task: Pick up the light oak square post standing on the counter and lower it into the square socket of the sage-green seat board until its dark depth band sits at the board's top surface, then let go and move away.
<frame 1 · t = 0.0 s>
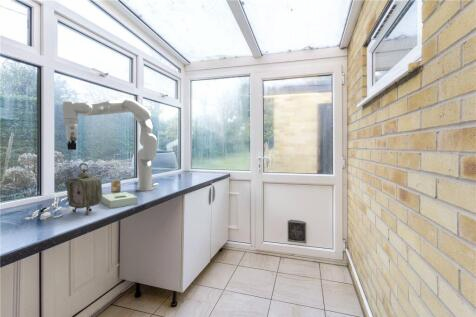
hand: (71, 149, 142), 31 cm above the worktop, tool pointing down, fingers open, 9 cm apart
miniature set: (61, 211, 118), on the worktop
seat board: (119, 202, 134), on the worktop
tabletop clock: (86, 212, 115), on the worktop
oak post: (116, 197, 149), on the worktop
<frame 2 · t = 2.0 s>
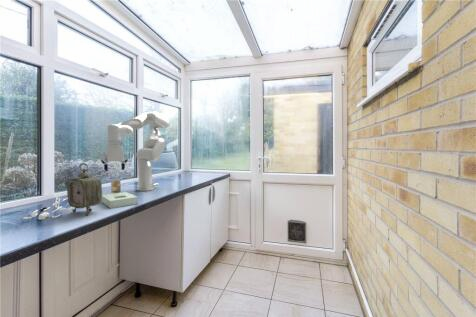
hand: (114, 170, 147), 18 cm above the worktop, tool pointing down, fingers open, 9 cm apart
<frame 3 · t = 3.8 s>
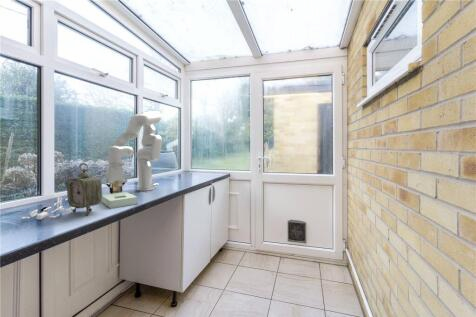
hand: (116, 192, 149), 3 cm above the worktop, tool pointing down, fingers closed on oak post, 4 cm apart
oak post: (116, 197, 149), on the worktop, touching gripper
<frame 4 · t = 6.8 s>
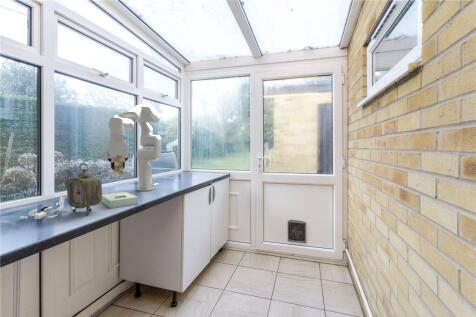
hand: (118, 168, 135), 20 cm above the worktop, tool pointing down, fingers closed on oak post, 4 cm apart
oak post: (118, 173, 135), point 17 cm above the worktop, touching gripper
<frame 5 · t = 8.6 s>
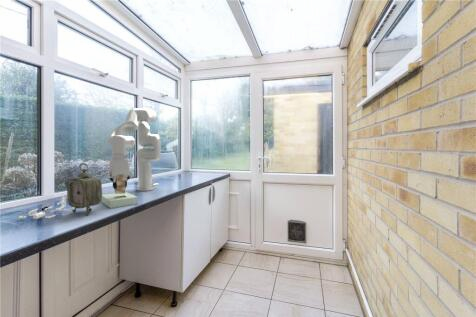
hand: (120, 188, 132), 9 cm above the worktop, tool pointing down, fingers closed on oak post, 4 cm apart
oak post: (120, 193, 132), point 6 cm above the worktop, touching gripper
when the fingers open (5 cm above the worktop, at t = 9.8 s): oak post drops 2 cm, resting in seat board.
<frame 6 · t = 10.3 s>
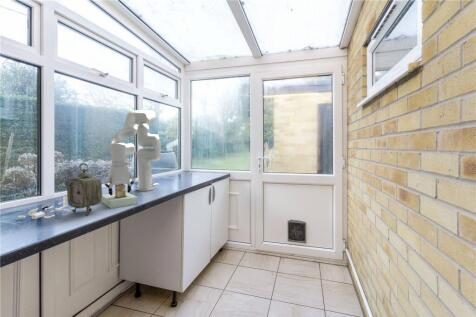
hand: (120, 193, 132), 6 cm above the worktop, tool pointing down, fingers open, 9 cm apart
oak post: (120, 203, 132), resting in seat board
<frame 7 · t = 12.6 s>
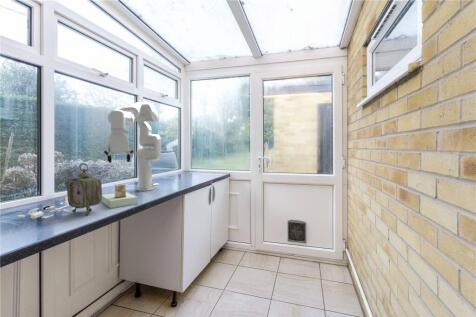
hand: (119, 162, 131), 24 cm above the worktop, tool pointing down, fingers open, 9 cm apart
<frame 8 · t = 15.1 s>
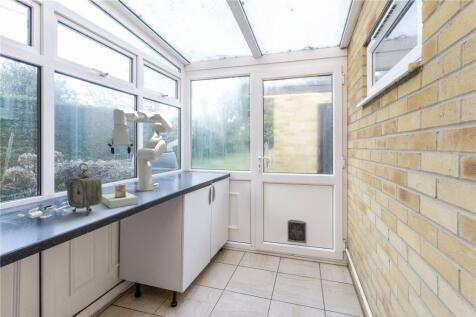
hand: (121, 153, 151), 28 cm above the worktop, tool pointing down, fingers open, 9 cm apart
at the end: oak post 0.1 cm from the target spot on the seat board, point 0.0 cm above the seat board's base; oak post tilted 0°; the gripper is holding nothing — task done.
